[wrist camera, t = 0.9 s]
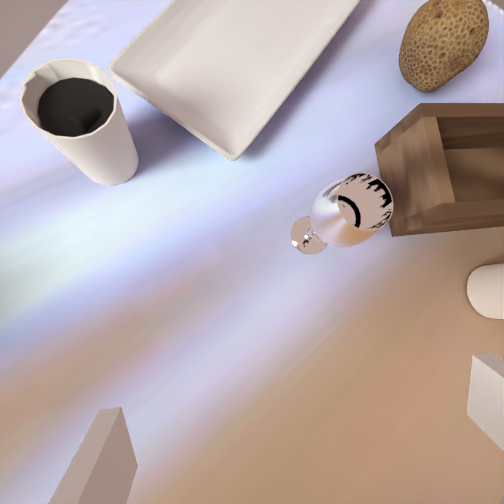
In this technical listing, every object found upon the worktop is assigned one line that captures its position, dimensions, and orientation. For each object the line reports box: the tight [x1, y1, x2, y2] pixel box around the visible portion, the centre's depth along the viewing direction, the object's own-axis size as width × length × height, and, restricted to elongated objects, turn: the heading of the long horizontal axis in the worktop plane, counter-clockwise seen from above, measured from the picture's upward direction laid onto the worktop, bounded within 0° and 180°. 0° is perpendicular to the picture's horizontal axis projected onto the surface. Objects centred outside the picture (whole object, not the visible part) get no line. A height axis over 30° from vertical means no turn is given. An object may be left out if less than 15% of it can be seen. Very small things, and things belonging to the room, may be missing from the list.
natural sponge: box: [399, 0, 489, 92], centre depth 35 cm, size 9×9×10 cm
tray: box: [108, 0, 361, 161], centre depth 35 cm, size 17×31×4 cm, turn 146°
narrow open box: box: [375, 103, 504, 236], centre depth 35 cm, size 12×23×8 cm, turn 97°
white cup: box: [19, 58, 139, 186], centre depth 27 cm, size 7×7×10 cm
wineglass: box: [291, 172, 393, 255], centre depth 28 cm, size 6×6×12 cm
